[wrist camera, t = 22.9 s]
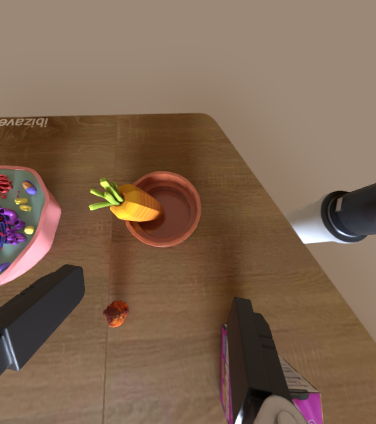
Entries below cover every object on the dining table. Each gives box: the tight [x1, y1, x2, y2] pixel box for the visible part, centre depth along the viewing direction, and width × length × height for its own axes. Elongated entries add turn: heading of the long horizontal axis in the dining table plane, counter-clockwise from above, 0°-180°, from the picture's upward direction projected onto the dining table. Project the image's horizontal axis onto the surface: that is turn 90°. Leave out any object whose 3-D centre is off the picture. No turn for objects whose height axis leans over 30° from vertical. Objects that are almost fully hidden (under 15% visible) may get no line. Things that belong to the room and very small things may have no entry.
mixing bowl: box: [125, 171, 201, 248], centre depth 32 cm, size 12×12×6 cm
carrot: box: [89, 178, 164, 222], centre depth 27 cm, size 5×5×15 cm
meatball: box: [103, 300, 129, 327], centre depth 29 cm, size 4×4×4 cm
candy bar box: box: [220, 324, 323, 424], centre depth 22 cm, size 11×5×16 cm, turn 176°
